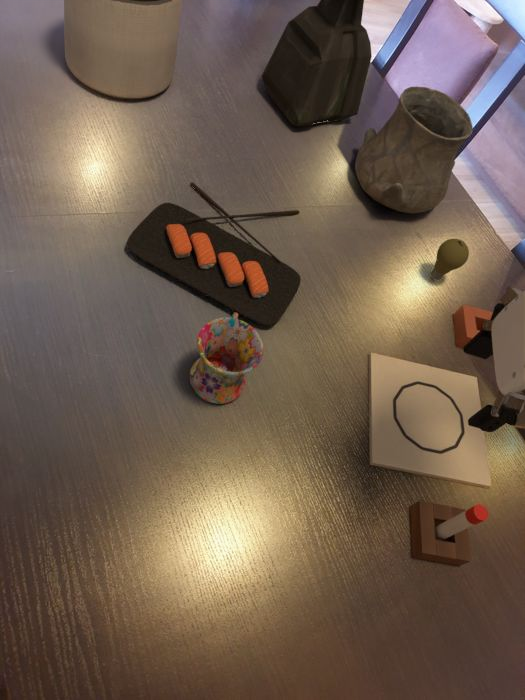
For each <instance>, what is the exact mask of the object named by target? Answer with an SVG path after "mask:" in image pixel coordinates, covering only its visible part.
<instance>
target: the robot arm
mask: <svg viewBox="0 0 525 700" xmlns="http://www.w3.org/2000/svg"><path fill="white" fill-rule="evenodd" d="M492 312H493V314H492V316H491V319H490V320H486V321H485V322H484V325H483V329H484V331H483V330H481V331H480V332H479V333H478V334H477V335H475V336H474V337H473V338H472V339H471V340H470V341H469V342H468V343H467V344H466V345H465V346H464V347H463V348H462V349H463V353H464V354H466V355H470V356H474V357H476V358H480V359H483V360H487V359H489V358H490V357H493V362H494V363H493V364H494V373H495V380H496V385H497V388H498V390H499V391H498V393H497V395H496V398H495V399H494V401H493V404H486V405H484V406H483V407H481V410H479V411H478V412H477V413H475V414H474V415H473V416H471V417H470V418H469V419H468V425H469V426H472V427H476V428H480V429H481V430H482V431H484V433H485V432H486V433H494V432H496V431H497V430H499V429H501V427H504V426H505V425H507V426H508V425H509V426H512V427H515V428H519V429H522V430H523V429H525V289H524V290H523V291H522V290H521V289H519V288H515V287H512V286H508V287H507V288H506V289H505V292H504V293H503V296H502V297H501V299H500V302H498V303H497V304H495V306H494V308H493V311H492ZM492 354H493V356H492ZM510 397H511V398H515V399H516V402H515V404H514V406H513V407H508V406H506V405H507V403H508V400H509V398H510Z"/></svg>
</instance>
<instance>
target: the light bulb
mask: <svg viewBox="0 0 525 700" xmlns="http://www.w3.org/2000/svg"><path fill="white" fill-rule="evenodd" d="M469 255H470V251H469V247H468V245H467V244H466V242H465V241H464V240H461V239H459V238H449V239H447V240H444V241H443V242H442V243H441V244H440V245H439V247H438V249H437V251H436V259H435V263H434V267H433V268H432V270H431V271H430V273H429V275H430V277H431V279H433V280H435V281H441V280H442V279H443V277H444V276H445V275H447V274H449V273H450V272H453V271H455V270H458V269H460V268H461V267H463V266H464V265H465V264H466V263H467V261H468V259H469V257H470V256H469Z"/></svg>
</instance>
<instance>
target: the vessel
mask: <svg viewBox="0 0 525 700" xmlns="http://www.w3.org/2000/svg"><path fill="white" fill-rule="evenodd" d="M472 123H473V122H472V120H471V117H470V115H469V113H468V112H467V111H466V109H464V107H463V106H462V105H461V104H460V103H458V102H457V101H456V100H455V99H454V98H453V97H451V96H449V95H448V94H446V93H445V92H442V91H440V90H437V89H433V88H430V87H426V86H409V87H406V88H405V89H404V90H403V91H402V92H401V94H400V96H399V99H398V102H397V106H396V108H395V110H394V112H393V113H392V115H391V116H390V117H389V119H388V120H387V121H386V122H385V124H384V125H383V126H382V127H381V128H380V130H379V131H377V132H376V129H375V128H373V127H370V128H369V129H367V130H366V131H365V132H364V137H363V138H364V139H363V143H362V144H361V147H360V148H359V150H358V152H357V155H356V157H355V164H354V169H355V175H356V177H357V180H358V182H359V185H360V187H361V189H362V190H363V191H364V193H366V194H367V195H368V196H369V197H370V198H371V199H373V200H374V201H375V202H378V203H379V204H381V205H382V206H384V207H387V208H389V209H392V210H395V211H398V212H401V213H406V214H407V213H408V214H418V213H419V214H420V213H425V212H428V211H430V210H433V209H434V208H436V207H437V206H438V205H440V204H441V202H442V201H443V200H444V199H445V197H446V195H447V191H448V189H449V188H448V187H449V182H450V180H451V175H452V171H453V169H454V167H455V165H456V161H455V159H456V156H457V153H458V151H459V149H460V147H461V146H462V145H463V144H464V142H466V140H467V139H469V138H470V137H471V136H472V134H473V130H474V127H473V124H472Z"/></svg>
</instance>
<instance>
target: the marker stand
mask: <svg viewBox="0 0 525 700" xmlns="http://www.w3.org/2000/svg"><path fill="white" fill-rule="evenodd" d="M466 510H467V509H466V508H459V507H455V506H450V505H445V504H440V503H436V502H435V503H434V502H428V501H424V500H418V501H416V502H414V503H413V504H412V505H410V506H409V518H410V519H409V520H410V533H411V534H410V538H411V540H410V541H411V557H412V558H413V559H418V560H423V561H429V562H435V563H439V564H440V563H441V564H447V565H453V566H463V565H465V564H468V563H471V562H472V558H471V548H470V539H469V528H467V529H465V530H463V531H461V532H458V533H456V534H454V535H452V536H450V537H448V538H446V539H444V540H442V541H441V540H436V538H435V527H436V526H438V525H440V524H441V523H443V522H445V521H447V520H449V519H451V518H453V517H455V516H457V515H459V514H461V513H463V512H465V511H466Z"/></svg>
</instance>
